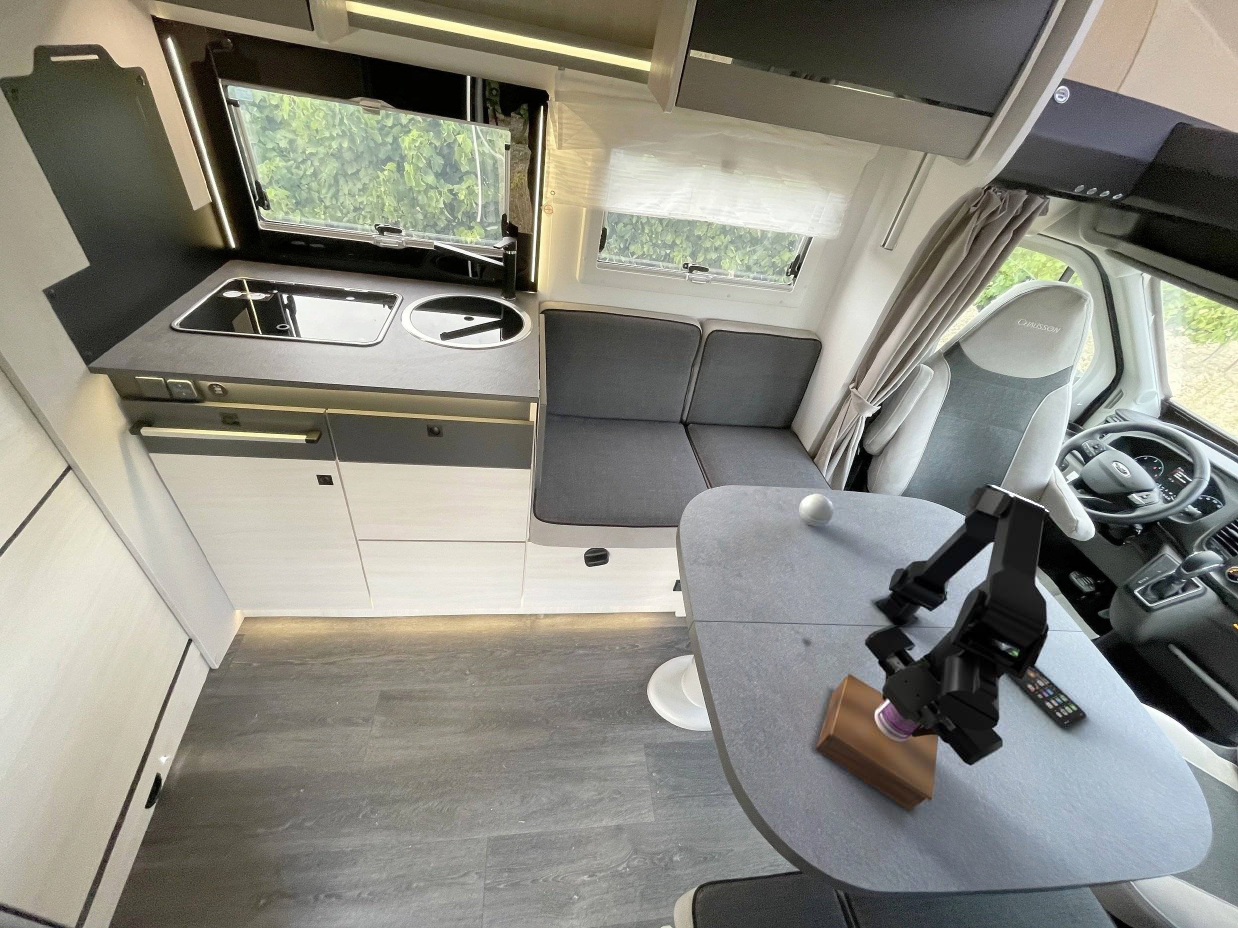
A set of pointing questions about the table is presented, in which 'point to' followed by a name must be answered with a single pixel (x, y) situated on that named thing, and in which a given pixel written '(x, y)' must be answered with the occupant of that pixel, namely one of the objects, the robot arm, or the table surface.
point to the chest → (862, 761)
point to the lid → (883, 739)
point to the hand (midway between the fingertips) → (899, 716)
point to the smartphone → (1049, 696)
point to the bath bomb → (816, 510)
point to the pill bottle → (894, 722)
